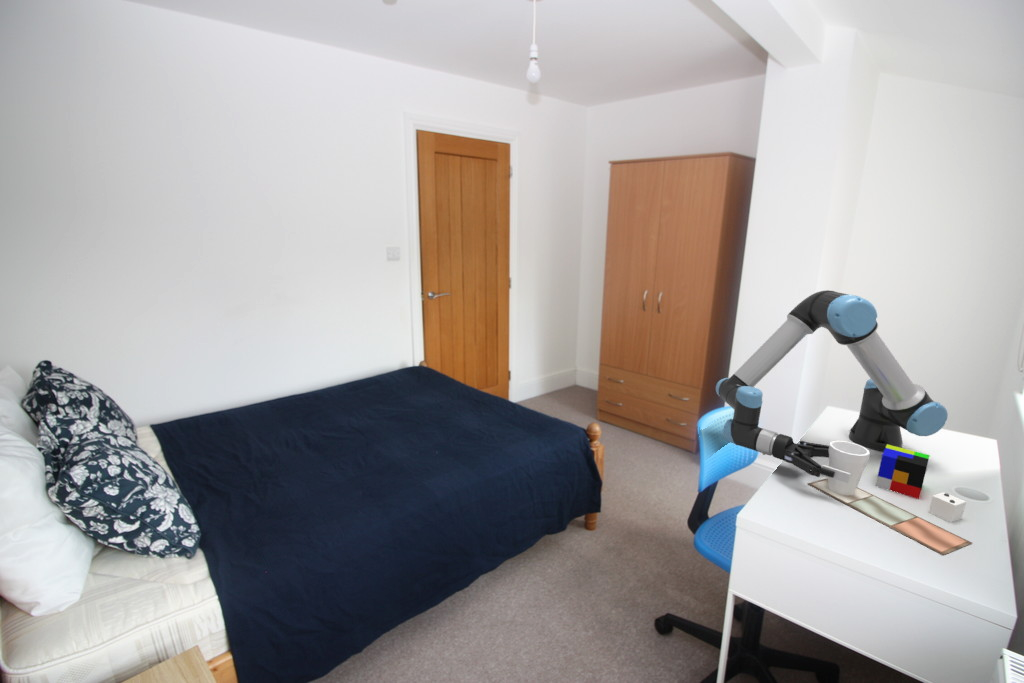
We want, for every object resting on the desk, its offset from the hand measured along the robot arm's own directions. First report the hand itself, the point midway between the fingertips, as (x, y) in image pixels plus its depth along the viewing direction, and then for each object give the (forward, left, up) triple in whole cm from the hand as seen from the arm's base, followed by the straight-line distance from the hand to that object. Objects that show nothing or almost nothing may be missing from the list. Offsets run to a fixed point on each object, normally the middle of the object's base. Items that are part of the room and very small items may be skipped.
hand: (856, 470), depth 137 cm
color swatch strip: (+1, +8, -7) cm, 11 cm away
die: (-13, +16, -8) cm, 22 cm away
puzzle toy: (-18, +2, -8) cm, 20 cm away
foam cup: (+1, -3, -7) cm, 8 cm away
